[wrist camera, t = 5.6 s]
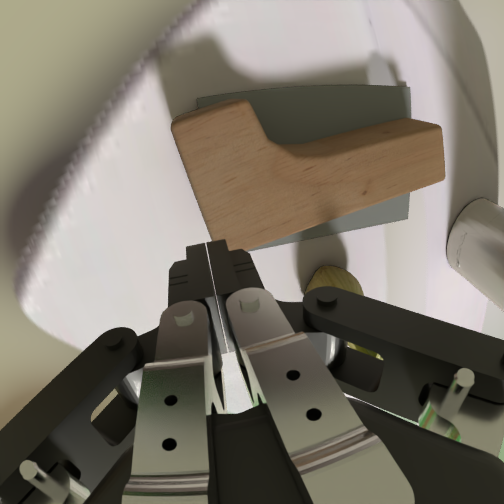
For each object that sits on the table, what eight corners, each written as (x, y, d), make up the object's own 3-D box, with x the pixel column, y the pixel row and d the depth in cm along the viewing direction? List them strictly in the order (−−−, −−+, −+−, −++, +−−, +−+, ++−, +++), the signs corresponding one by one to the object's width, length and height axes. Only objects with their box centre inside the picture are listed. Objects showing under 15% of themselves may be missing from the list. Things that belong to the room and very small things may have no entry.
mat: (407, 86, 22) (410, 87, 22) (405, 217, 28) (407, 219, 27) (196, 98, 20) (197, 98, 20) (222, 254, 26) (223, 256, 25)
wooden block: (168, 123, 16) (434, 64, 17) (170, 118, 20) (397, 64, 21) (220, 262, 20) (447, 181, 21) (212, 233, 24) (413, 166, 25)
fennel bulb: (305, 257, 27) (373, 354, 17) (354, 254, 28) (434, 339, 18) (296, 312, 30) (349, 413, 20) (343, 306, 31) (404, 396, 21)
